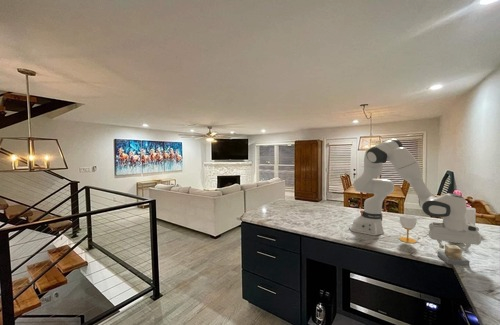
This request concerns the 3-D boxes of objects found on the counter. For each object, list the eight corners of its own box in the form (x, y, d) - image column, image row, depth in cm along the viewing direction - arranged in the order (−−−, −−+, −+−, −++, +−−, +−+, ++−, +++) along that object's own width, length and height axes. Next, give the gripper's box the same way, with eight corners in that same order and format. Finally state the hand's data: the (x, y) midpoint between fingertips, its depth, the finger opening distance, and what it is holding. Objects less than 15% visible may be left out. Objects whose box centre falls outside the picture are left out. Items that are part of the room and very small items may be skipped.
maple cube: (448, 257, 111) (449, 248, 110) (444, 252, 115) (445, 244, 115) (461, 259, 108) (461, 249, 108) (456, 254, 113) (457, 245, 113)
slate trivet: (448, 264, 109) (448, 259, 109) (437, 256, 118) (437, 251, 117) (469, 266, 107) (469, 261, 106) (456, 257, 115) (457, 252, 115)
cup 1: (399, 241, 136) (399, 217, 135) (398, 236, 144) (399, 213, 143) (417, 244, 131) (417, 219, 130) (415, 239, 139) (416, 215, 138)
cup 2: (462, 230, 150) (463, 209, 150) (456, 226, 158) (457, 206, 157) (477, 232, 148) (478, 210, 147) (470, 228, 155) (471, 206, 154)
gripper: (431, 223, 112) (430, 248, 113) (483, 228, 104) (482, 255, 105) (427, 220, 118) (426, 243, 119) (475, 224, 110) (474, 250, 111)
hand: (452, 249), depth 112 cm, fingers open, 8 cm apart
